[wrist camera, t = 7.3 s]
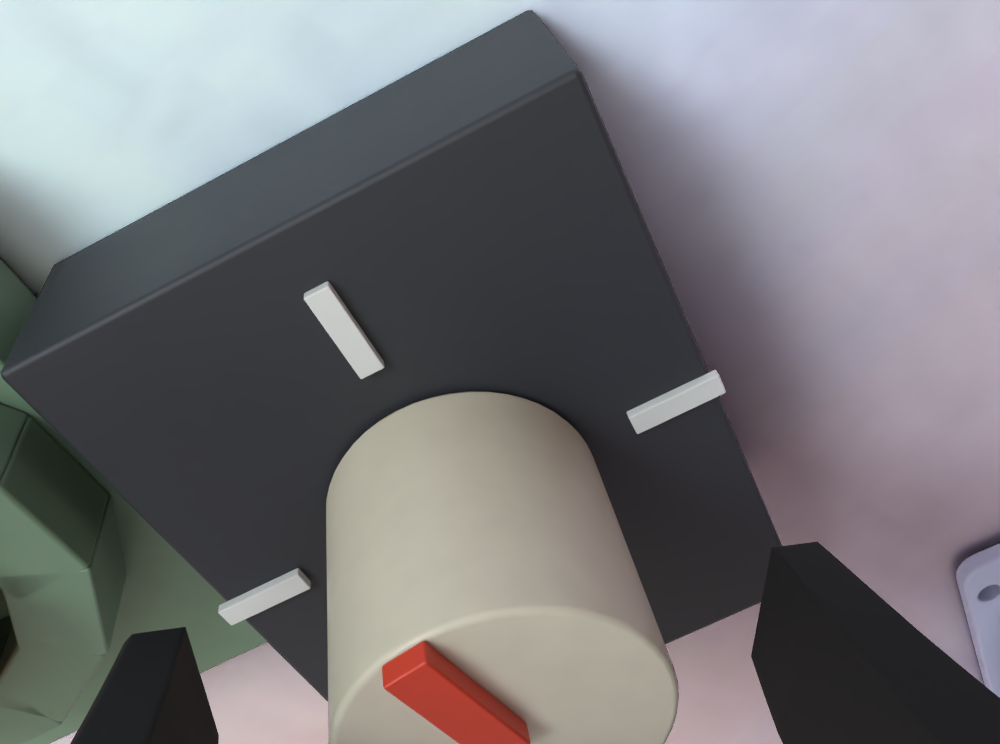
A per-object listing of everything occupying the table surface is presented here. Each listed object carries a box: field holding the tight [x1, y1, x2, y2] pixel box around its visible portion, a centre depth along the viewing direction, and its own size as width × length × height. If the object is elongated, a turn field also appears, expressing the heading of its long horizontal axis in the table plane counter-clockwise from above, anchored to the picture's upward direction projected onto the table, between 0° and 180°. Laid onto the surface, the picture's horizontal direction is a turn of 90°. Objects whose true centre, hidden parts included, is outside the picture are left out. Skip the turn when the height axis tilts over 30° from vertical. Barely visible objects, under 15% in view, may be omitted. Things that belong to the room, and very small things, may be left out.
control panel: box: [0, 10, 782, 701], centre depth 15 cm, size 10×8×3 cm
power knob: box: [326, 391, 679, 744], centre depth 12 cm, size 4×4×4 cm
